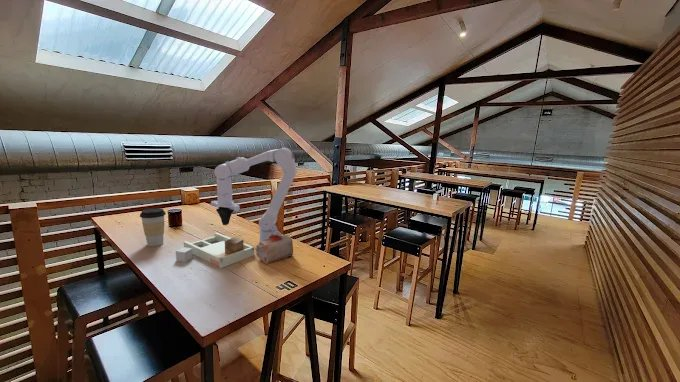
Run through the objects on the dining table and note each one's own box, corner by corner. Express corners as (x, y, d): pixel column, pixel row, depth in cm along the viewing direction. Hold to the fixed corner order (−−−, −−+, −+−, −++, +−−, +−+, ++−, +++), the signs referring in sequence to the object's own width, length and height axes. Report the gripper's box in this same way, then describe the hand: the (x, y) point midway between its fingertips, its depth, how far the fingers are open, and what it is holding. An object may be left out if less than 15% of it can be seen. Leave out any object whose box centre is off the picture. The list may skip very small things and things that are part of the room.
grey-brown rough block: (265, 266, 112) (265, 241, 110) (254, 259, 117) (254, 236, 115) (294, 257, 121) (295, 234, 119) (283, 251, 127) (283, 229, 125)
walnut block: (243, 251, 120) (243, 239, 119) (236, 255, 115) (235, 243, 114) (232, 249, 121) (232, 237, 120) (225, 253, 116) (224, 241, 115)
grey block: (192, 258, 116) (192, 248, 115) (185, 262, 112) (184, 252, 111) (184, 256, 117) (183, 247, 116) (176, 260, 113) (175, 250, 112)
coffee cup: (147, 249, 121) (144, 214, 118) (138, 243, 127) (135, 210, 124) (172, 243, 129) (169, 210, 126) (162, 238, 134) (159, 206, 131)
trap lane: (254, 255, 121) (254, 247, 120) (221, 267, 109) (220, 259, 108) (216, 239, 135) (216, 232, 135) (184, 249, 123) (183, 241, 122)
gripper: (244, 193, 123) (245, 225, 125) (219, 189, 129) (221, 219, 132) (231, 196, 116) (232, 229, 119) (206, 192, 123) (207, 223, 125)
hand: (225, 224), depth 125 cm, fingers closed
